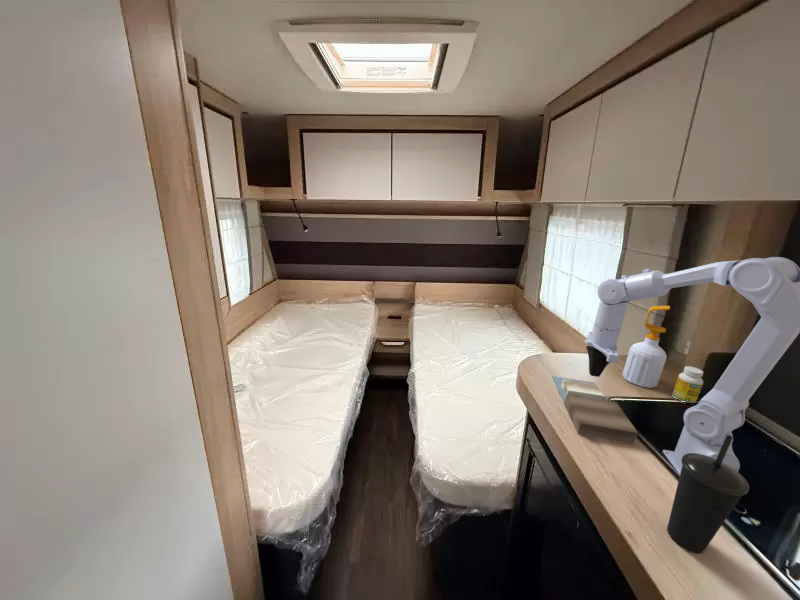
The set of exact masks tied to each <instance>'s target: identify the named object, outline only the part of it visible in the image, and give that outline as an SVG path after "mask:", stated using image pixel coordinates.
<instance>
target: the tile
mask: <svg viewBox="0 0 800 600" xmlns="http://www.w3.org/2000/svg"><path fill="white" fill-rule="evenodd" d="M561 386H562V388H563V390H564V392H565V394H566V396H567V395H574V396H580V397H586V398H592V399H598V400H603V398H605V395H604V394H603V392H602V391H601V390H600V388H599V386H598V385H597V384H596V383H595V384H591V383H584V382H577V381H571V380H564V379H563V380H562V384H561Z"/></svg>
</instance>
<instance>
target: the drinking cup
mask: <svg viewBox="0 0 800 600" xmlns="http://www.w3.org/2000/svg"><path fill="white" fill-rule="evenodd" d="M732 439H733V440H734V437H731V436H729V435H726V438H725V440H724V442H723V445H722V447H721V449H720V452H719V454H718V456H717V459H714V458H711V457H709V456H706V455H702V454H696V453H688V454H685V455H684V456H683V457H682V469H681V473H680V474H679V479H678V483H677V486H676V490H675V493H674V494H675V495H674V498H673V502H672V506H671V511H670V515H669V518H668V523H667V527H666V530H667V534H668V535H670V536H669V537H670V538H671V539H672V540H673V541H674V543H676V544H677V545H678V546H679V547H681V548H682V549H684V550H686V549H687V550H686V551H688V552H690V553H694V554H702V553H703V551H705V550H706V549H707V548H708V545H709V544H710V543H711V542H712V540H713V539H714V538H715V536H716V534H717V533H718V531H719V530H720V528H721V527H722V526H723V524H724V523H725V521H726V520H727V519H728V517H729V515H730V514H731V512H732V511H733V509H734V508H735V506H737V503H739V501H740V499H741V498H742V497H743V496H745V495H747V494H748V493H749V491H750V485H749V482H748V481H747V479H746V478H745V477H744V476H743V475H742V474H741V473H740V472H739V471H738V472H737V471H736V470H734V469H733V468H731V467H730V466H728V465H726V464H725V463H723V462H722V461H723V459H724V457H725V454H726V452H727V450H728V448H729V445H730V443H731V441H732Z"/></svg>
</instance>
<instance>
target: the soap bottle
mask: <svg viewBox="0 0 800 600" xmlns="http://www.w3.org/2000/svg"><path fill="white" fill-rule="evenodd" d="M670 309H671V306H670V305H654V306H653V305H652V306H651V307H649V309H648V313H647V315H646V319H645V322H644V327H645V328H646V329H648V331H649V332H650V333H649V334H646V335H645V338H644V341H641V342H637V343H633V344H632V345H631V346H630V348H629V351H628V353H627V358H626V362H625V364H624V368H623V371H622V377H623V379H625V380H626V381H627V382H629V383H631V384H632V383H633V385H635V386H637V385H638V386H637V387H640V388H645V389H646V388H647V389H648V388H649V389H653V387H654V388H656V387H657V386H658V384H659V381H660V379H661V376H662V373H663V370H664V367H665V364H666V362H667V361H666V360H667V353H666V351H665V350H664V349H663V348H662V347H661V346H659V342H660V339H661V338H660V337H659V336H658V334H661V333H666V332H667V331H666V330H667V329H666V327H663V326H658V325H654V324H650V323H648V320H649V318H650V315H651V313H652V312H655V311H669V310H670Z"/></svg>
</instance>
